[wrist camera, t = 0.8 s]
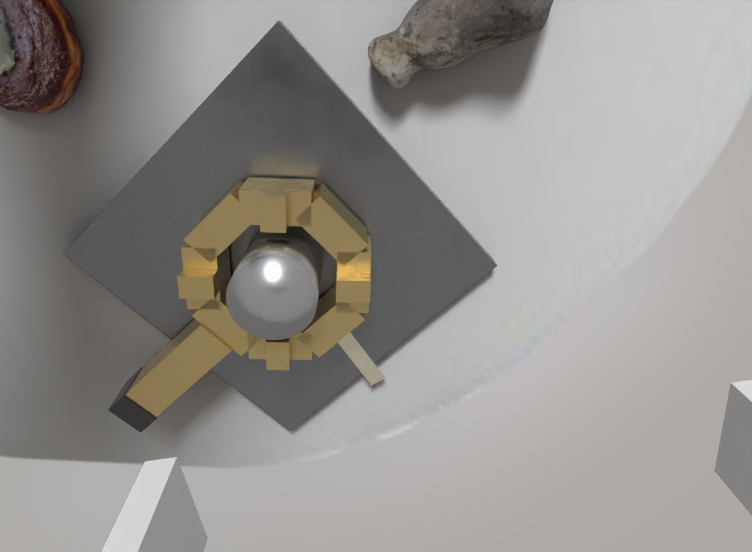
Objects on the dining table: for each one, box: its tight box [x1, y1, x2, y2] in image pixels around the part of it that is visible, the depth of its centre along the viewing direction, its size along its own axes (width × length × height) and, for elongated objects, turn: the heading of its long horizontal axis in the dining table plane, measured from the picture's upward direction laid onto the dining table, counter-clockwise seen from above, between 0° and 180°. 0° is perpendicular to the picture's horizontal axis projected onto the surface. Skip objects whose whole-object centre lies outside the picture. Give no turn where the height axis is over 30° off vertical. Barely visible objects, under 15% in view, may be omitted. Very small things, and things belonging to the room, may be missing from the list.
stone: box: [368, 0, 553, 88], centre depth 28 cm, size 10×5×8 cm
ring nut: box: [108, 177, 371, 432], centre depth 33 cm, size 20×11×4 cm, turn 132°
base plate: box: [63, 21, 497, 431], centre depth 33 cm, size 21×20×7 cm
